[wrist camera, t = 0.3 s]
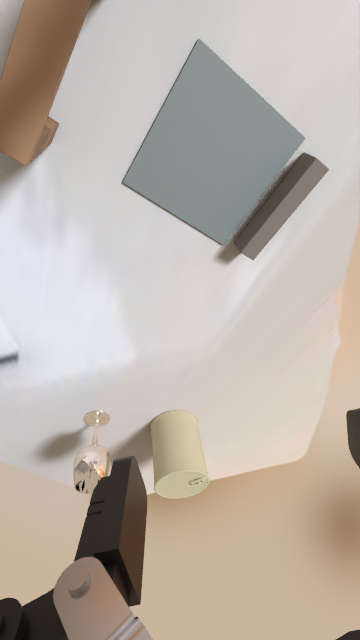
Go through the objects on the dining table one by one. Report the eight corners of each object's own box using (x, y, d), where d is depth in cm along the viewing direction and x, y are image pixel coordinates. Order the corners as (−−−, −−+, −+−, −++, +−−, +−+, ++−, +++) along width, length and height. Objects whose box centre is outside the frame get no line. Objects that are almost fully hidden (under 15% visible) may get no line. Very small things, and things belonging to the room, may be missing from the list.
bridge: (19, 123, 30) (-18, 141, 23) (87, -77, 24) (68, -148, 16) (51, 143, 32) (26, 166, 24) (124, -42, 25) (123, -92, 17)
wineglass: (76, 426, 58) (67, 494, 49) (84, 406, 55) (75, 474, 46) (108, 430, 60) (104, 496, 51) (117, 411, 57) (115, 478, 48)
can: (204, 429, 64) (217, 491, 55) (161, 444, 65) (166, 506, 56) (188, 403, 59) (200, 467, 49) (142, 419, 60) (144, 485, 50)
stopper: (234, 242, 40) (240, 252, 38) (303, 152, 35) (316, 158, 33) (246, 249, 41) (253, 260, 39) (315, 163, 36) (329, 169, 34)
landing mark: (122, 181, 35) (122, 182, 34) (198, 38, 28) (199, 38, 28) (223, 244, 40) (223, 245, 40) (304, 137, 34) (305, 138, 34)
